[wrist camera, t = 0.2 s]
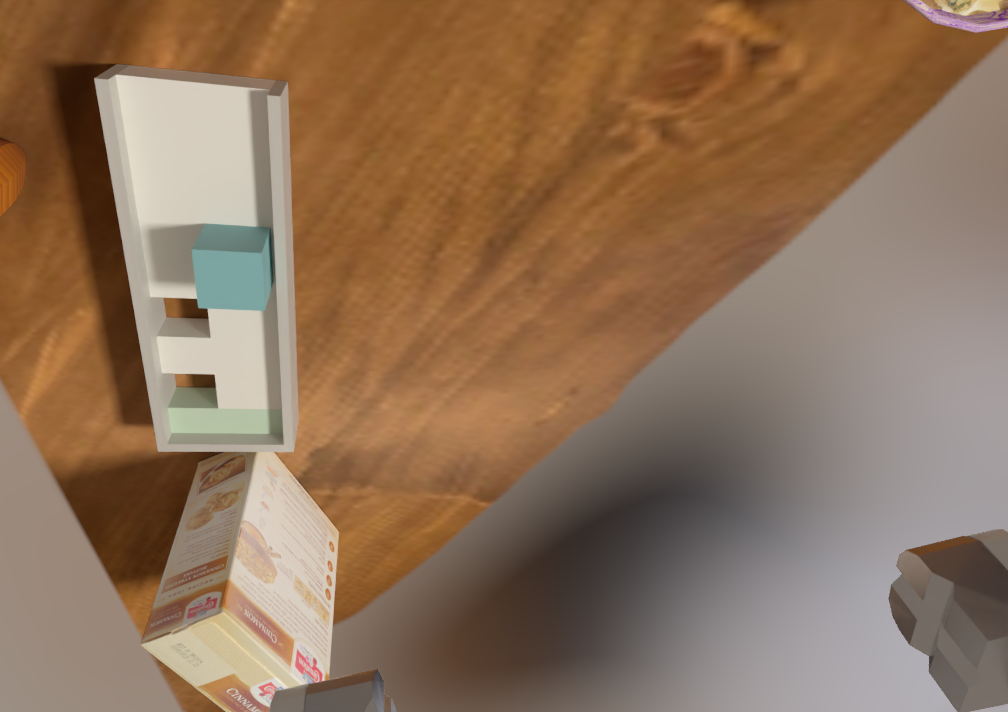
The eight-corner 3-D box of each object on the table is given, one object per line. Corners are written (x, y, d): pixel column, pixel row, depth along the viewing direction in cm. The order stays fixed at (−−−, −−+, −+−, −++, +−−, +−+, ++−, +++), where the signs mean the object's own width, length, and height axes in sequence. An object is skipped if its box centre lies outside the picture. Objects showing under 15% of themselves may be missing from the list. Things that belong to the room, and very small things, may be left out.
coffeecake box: (195, 461, 66) (135, 645, 50) (262, 433, 65) (224, 610, 49) (281, 555, 74) (253, 739, 58) (341, 531, 73) (330, 710, 57)
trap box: (116, 63, 47) (94, 78, 43) (287, 81, 49) (280, 96, 45) (171, 418, 63) (158, 451, 59) (298, 420, 65) (293, 452, 61)
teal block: (205, 223, 50) (191, 249, 47) (270, 227, 51) (261, 253, 48) (211, 279, 53) (198, 308, 49) (273, 282, 54) (265, 310, 50)
